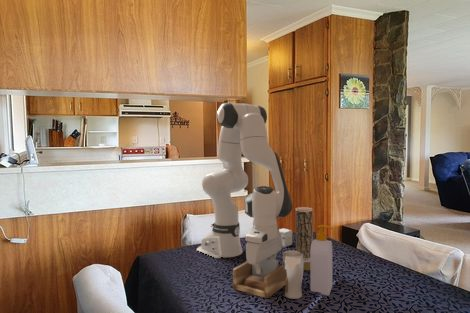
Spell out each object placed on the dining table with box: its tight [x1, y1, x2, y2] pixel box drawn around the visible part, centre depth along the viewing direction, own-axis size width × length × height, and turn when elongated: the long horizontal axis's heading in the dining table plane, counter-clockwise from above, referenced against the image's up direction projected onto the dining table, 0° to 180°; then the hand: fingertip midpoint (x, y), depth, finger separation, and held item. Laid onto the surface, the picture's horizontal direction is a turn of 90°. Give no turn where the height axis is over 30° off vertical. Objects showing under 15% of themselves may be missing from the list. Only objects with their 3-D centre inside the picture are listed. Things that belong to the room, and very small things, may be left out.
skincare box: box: [278, 228, 293, 248], centre depth 173 cm, size 6×6×7 cm
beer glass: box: [282, 250, 305, 300], centre depth 116 cm, size 7×7×15 cm
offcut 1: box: [245, 275, 264, 288], centre depth 121 cm, size 8×4×2 cm, turn 59°
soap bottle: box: [309, 224, 333, 296], centre depth 121 cm, size 9×7×23 cm
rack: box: [232, 260, 285, 299], centre depth 123 cm, size 14×14×8 cm
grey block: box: [252, 257, 279, 278], centre depth 126 cm, size 10×2×9 cm, turn 55°
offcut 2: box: [244, 282, 264, 291], centre depth 122 cm, size 9×4×2 cm, turn 55°
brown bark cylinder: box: [295, 206, 314, 271], centre depth 140 cm, size 7×7×25 cm
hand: (265, 269), depth 126 cm, fingers open, 8 cm apart
